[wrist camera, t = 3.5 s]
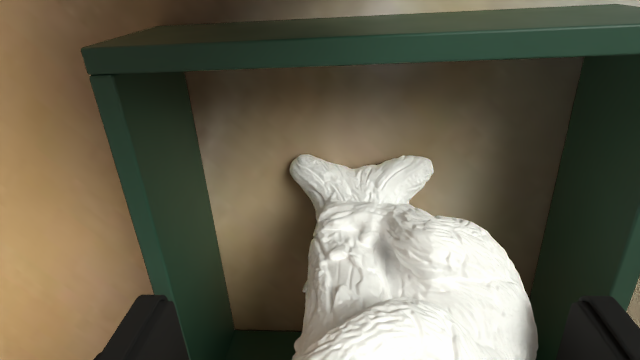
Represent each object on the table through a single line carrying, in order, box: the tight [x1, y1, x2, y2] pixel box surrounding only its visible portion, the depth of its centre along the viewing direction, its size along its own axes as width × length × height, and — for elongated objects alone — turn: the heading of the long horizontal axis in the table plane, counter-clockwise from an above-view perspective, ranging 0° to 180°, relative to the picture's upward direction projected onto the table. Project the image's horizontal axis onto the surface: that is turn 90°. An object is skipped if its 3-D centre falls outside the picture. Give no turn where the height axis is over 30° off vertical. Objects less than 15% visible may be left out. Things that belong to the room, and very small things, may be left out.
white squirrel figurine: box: [289, 154, 538, 360], centre depth 10 cm, size 8×7×12 cm
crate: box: [81, 4, 640, 360], centre depth 13 cm, size 13×13×4 cm
